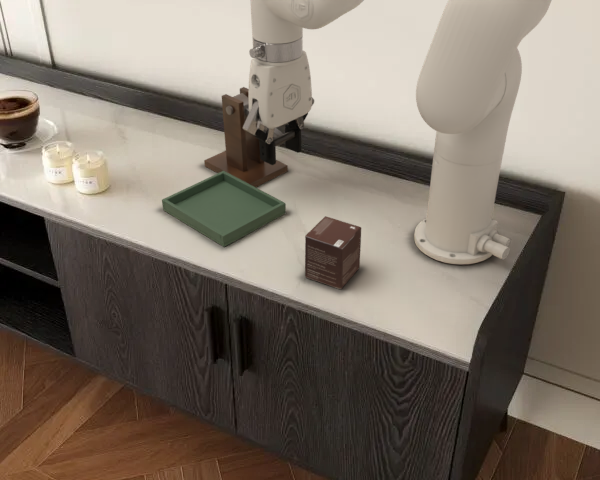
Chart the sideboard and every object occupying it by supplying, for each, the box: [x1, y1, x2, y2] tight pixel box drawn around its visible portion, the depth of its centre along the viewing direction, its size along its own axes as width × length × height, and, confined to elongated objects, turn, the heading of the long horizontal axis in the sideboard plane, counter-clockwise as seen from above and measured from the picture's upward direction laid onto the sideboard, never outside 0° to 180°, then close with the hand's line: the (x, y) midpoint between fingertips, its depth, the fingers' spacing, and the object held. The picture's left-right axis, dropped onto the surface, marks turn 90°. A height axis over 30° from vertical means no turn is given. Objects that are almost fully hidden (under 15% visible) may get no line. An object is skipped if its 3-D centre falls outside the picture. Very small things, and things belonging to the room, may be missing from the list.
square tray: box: [161, 171, 287, 248], centre depth 123 cm, size 15×13×2 cm
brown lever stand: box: [203, 86, 289, 188], centre depth 130 cm, size 12×9×14 cm
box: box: [304, 216, 362, 290], centre depth 108 cm, size 6×6×7 cm
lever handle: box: [233, 93, 296, 147], centre depth 126 cm, size 12×5×2 cm, turn 45°
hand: (280, 154), depth 126 cm, fingers closed on lever handle, 5 cm apart
